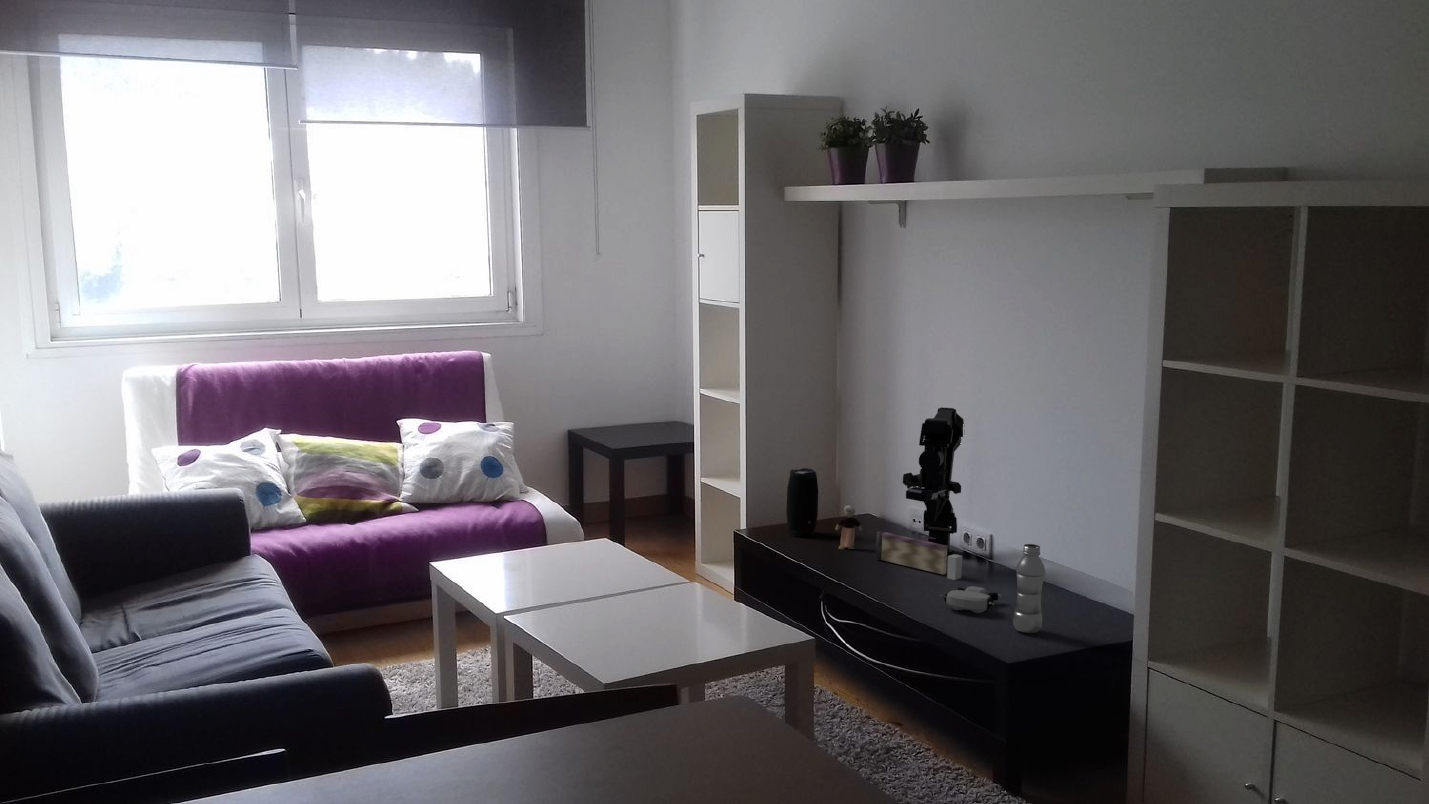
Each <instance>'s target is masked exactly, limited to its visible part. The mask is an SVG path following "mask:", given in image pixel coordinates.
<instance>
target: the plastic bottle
mask: <svg viewBox="0 0 1429 804" xmlns="http://www.w3.org/2000/svg"><path fill="white" fill-rule="evenodd" d="M1022 554H1023V556H1022V557H1021V558H1020V559H1019V561H1018V563H1017V564H1016V569H1015V572H1016V581H1017V582H1016V583H1017V589H1016V590H1017V597H1016V602H1015V603H1016V604H1015V609H1014V613H1013V619H1012V621H1013V627H1014V628H1015V630H1017V631H1018V632H1020V633H1025V634H1035V633H1039V632H1040V630H1041V629H1042V626H1043V614H1042V591H1043V583H1044V579H1045V574H1046V568H1045V565H1044V563H1043V561H1042V560H1041V558H1040V557H1039V556H1040V555H1041V545H1038V544H1033V543H1026V544H1024V545H1023V549H1022Z"/></svg>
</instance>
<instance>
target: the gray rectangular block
mask: <svg viewBox="0 0 1429 804" xmlns="http://www.w3.org/2000/svg"><path fill="white" fill-rule="evenodd" d="M962 567H963V555H960V554H957V553H956V554H955V553H953V554H951V555H947V570H946V574H947V575H946V576H947V577H946V579H949V580H953V581H957V580H959V579H962V574H963V573H962V571H963V569H962Z"/></svg>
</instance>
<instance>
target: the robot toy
mask: <svg viewBox="0 0 1429 804" xmlns="http://www.w3.org/2000/svg"><path fill="white" fill-rule="evenodd" d="M987 592H988V591H987V589H986V588H984V587H980V586H973V585H972V586H971V585H970V586H968V587H966V589H965V588H964V587H961V586H959V587H957V588H956V590H955V589H953V590H950V591H948V592H947V593H945V594H944V595H942V594H940V595H939V597H942V598H943V600H944V602H945V603H946V604H947V606H948V607H949V606H950V607H951V609H953V610H955V611H957V610H960V611H963V610H966V611H967V610H969V611H971V612H973V613H974V614H982V613H983V612H985V611H987V610H989V609H990V608H992V607H993V606H995V601H998V600H999V599H1001V598H1002V594H999V593H998V592H996V591H995V592H989V593H987Z"/></svg>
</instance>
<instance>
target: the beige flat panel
mask: <svg viewBox="0 0 1429 804" xmlns="http://www.w3.org/2000/svg"><path fill="white" fill-rule="evenodd" d="M875 548H876V549H875V559H876V560H881V561H884V562H887V563H888V562H889V563H893V564H898V565H902V566H905V567H910V568H914V569H918V570H923V571H927V572H931V573H935V574H939V575H946V574H947V567H948V554H947V549H948V546H946V545H942V544H937V543H933V542H928V540H927V541H926V540H923V539H919V538H918V539H917V538H914V537H909V536H905V535H900V534H895V533H891V532H887V531H886V532H885V531H882V530H881V531H876V547H875Z"/></svg>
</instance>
